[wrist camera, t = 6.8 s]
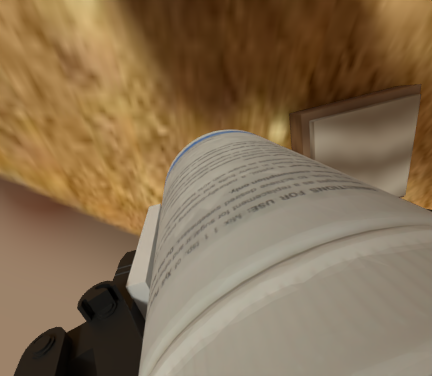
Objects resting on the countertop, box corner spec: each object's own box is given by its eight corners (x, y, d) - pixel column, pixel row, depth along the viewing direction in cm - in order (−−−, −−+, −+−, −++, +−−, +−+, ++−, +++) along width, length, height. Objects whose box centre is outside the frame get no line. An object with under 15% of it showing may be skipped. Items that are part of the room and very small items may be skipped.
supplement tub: (149, 219, 17) (36, 651, 4) (192, 104, 14) (362, 164, 1) (251, 247, 20) (399, 553, 6) (303, 155, 17) (757, 359, 4)
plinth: (289, 113, 28) (305, 114, 24) (398, 85, 29) (430, 83, 25) (296, 214, 34) (310, 227, 31) (386, 189, 35) (410, 199, 32)
